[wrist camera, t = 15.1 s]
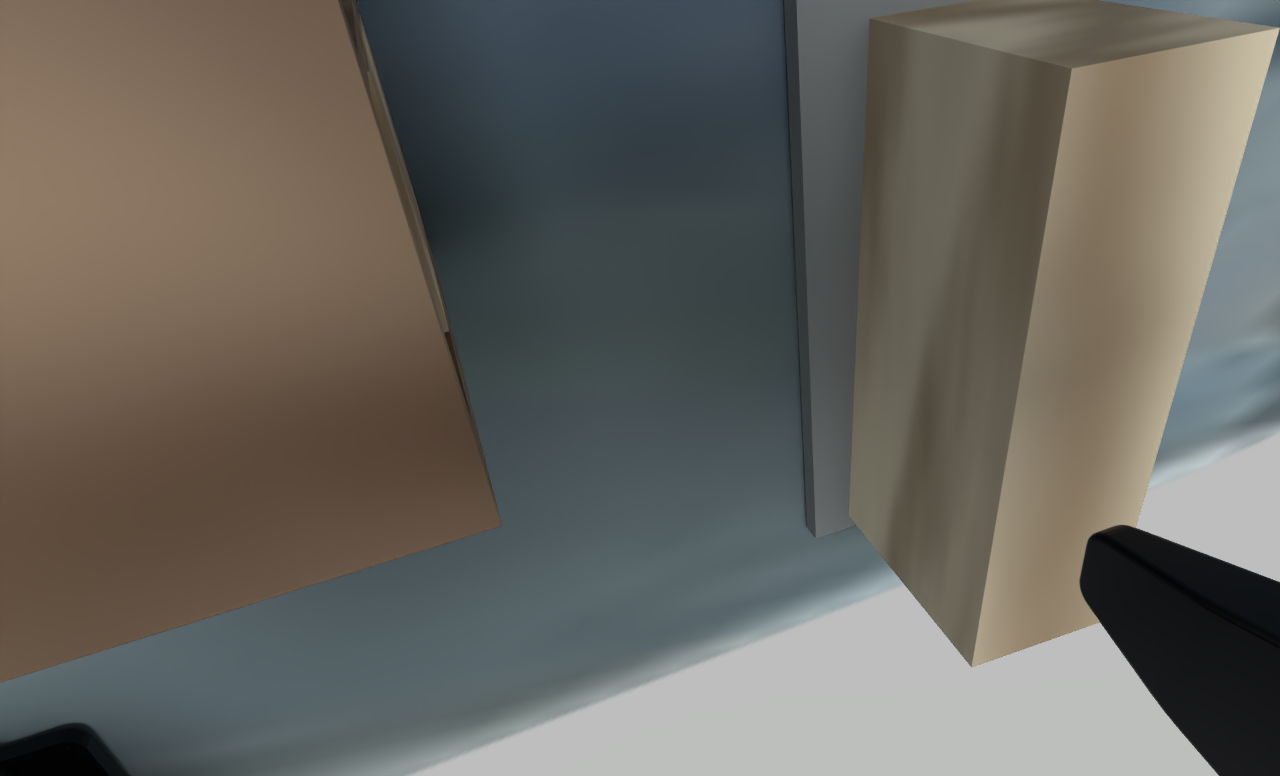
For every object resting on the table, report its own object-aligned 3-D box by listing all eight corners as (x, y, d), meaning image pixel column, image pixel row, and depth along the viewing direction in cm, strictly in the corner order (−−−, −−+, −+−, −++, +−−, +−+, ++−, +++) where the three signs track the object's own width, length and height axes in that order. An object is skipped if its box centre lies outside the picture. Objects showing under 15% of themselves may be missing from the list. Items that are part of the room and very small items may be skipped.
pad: (1003, 460, 27) (1016, 471, 27) (807, 526, 26) (815, 538, 25) (1073, -108, 18) (1093, -107, 18) (781, -49, 17) (795, -47, 17)
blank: (1031, -10, 19) (1280, 28, 14) (964, 481, 26) (1109, 618, 21) (869, 18, 18) (1071, 68, 13) (848, 515, 25) (971, 667, 20)
